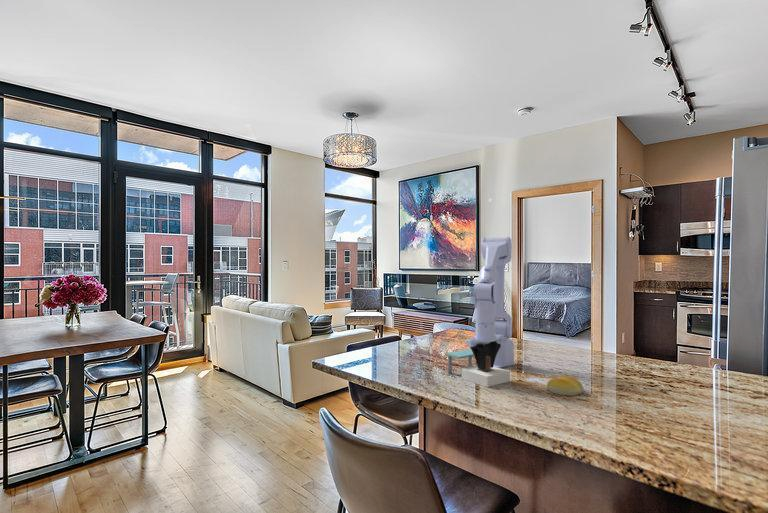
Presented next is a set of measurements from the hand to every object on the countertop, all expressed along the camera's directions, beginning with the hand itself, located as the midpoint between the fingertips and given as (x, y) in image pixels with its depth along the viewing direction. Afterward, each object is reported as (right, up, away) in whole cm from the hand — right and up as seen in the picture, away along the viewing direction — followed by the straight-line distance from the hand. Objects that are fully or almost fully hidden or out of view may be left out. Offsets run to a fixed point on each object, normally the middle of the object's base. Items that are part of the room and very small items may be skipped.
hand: (485, 367), depth 119 cm
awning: (-5, -4, +8) cm, 10 cm away
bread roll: (+19, -4, -10) cm, 22 cm away
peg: (0, -4, 0) cm, 4 cm away
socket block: (0, -4, 0) cm, 4 cm away
